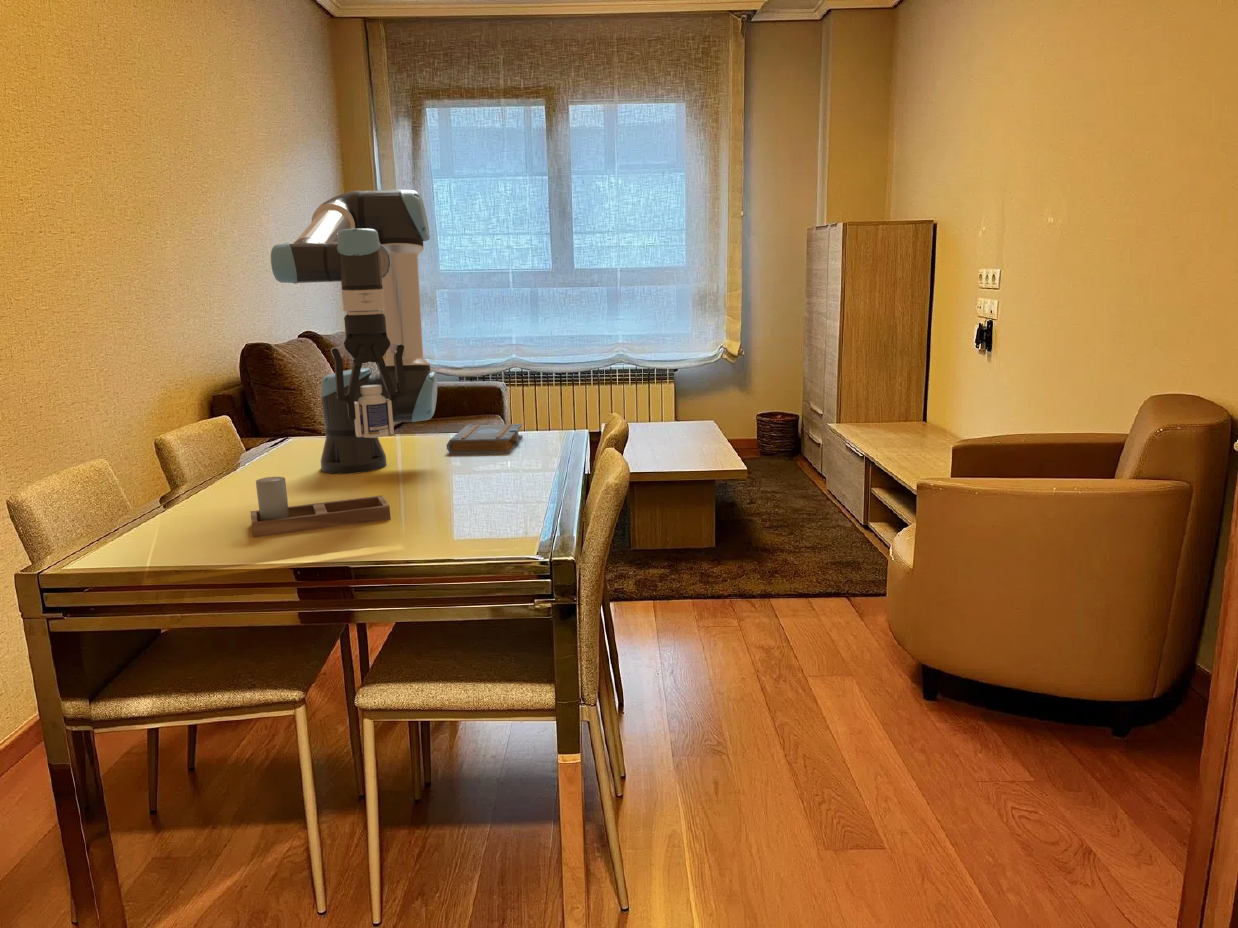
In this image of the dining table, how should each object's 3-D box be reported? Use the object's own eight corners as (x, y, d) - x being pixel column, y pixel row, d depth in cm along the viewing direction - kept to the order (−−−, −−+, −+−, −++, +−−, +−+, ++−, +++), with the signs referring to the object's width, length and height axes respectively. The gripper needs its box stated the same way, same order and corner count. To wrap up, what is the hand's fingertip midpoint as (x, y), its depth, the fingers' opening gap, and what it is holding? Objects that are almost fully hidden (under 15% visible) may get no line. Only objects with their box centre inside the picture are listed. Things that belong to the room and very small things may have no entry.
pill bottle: (394, 433, 179) (390, 384, 177) (379, 438, 174) (375, 387, 172) (371, 433, 181) (366, 384, 179) (355, 438, 176) (350, 387, 174)
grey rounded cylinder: (260, 525, 169) (255, 478, 167) (289, 522, 171) (284, 475, 169) (261, 532, 165) (256, 484, 163) (291, 529, 167) (285, 481, 165)
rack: (252, 529, 171) (250, 511, 170) (383, 512, 180) (382, 495, 179) (253, 542, 163) (251, 523, 162) (391, 524, 172) (389, 506, 171)
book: (464, 439, 253) (463, 422, 252) (524, 438, 252) (523, 420, 251) (447, 456, 233) (445, 436, 231) (511, 454, 232) (510, 435, 231)
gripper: (315, 316, 166) (327, 442, 171) (417, 311, 173) (426, 432, 178) (311, 314, 173) (323, 436, 177) (409, 310, 180) (418, 427, 185)
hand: (374, 434), depth 178 cm, fingers closed on pill bottle, 5 cm apart
